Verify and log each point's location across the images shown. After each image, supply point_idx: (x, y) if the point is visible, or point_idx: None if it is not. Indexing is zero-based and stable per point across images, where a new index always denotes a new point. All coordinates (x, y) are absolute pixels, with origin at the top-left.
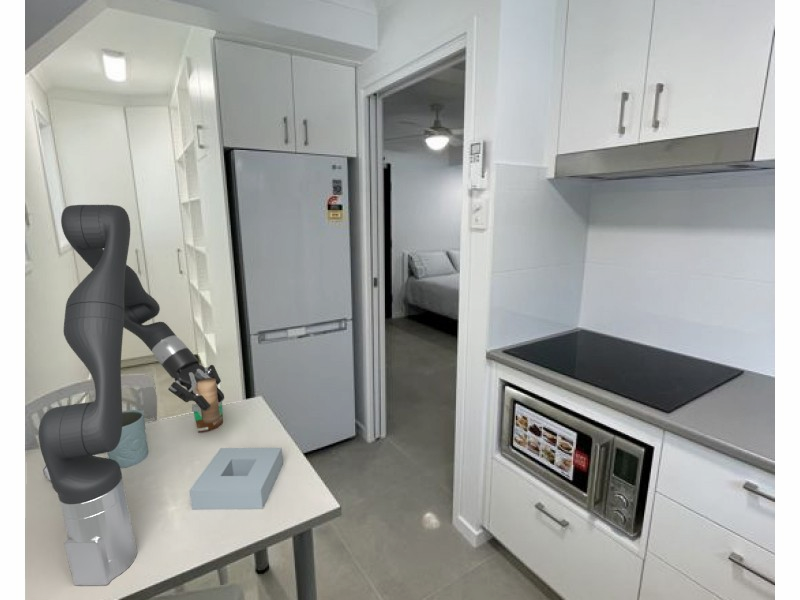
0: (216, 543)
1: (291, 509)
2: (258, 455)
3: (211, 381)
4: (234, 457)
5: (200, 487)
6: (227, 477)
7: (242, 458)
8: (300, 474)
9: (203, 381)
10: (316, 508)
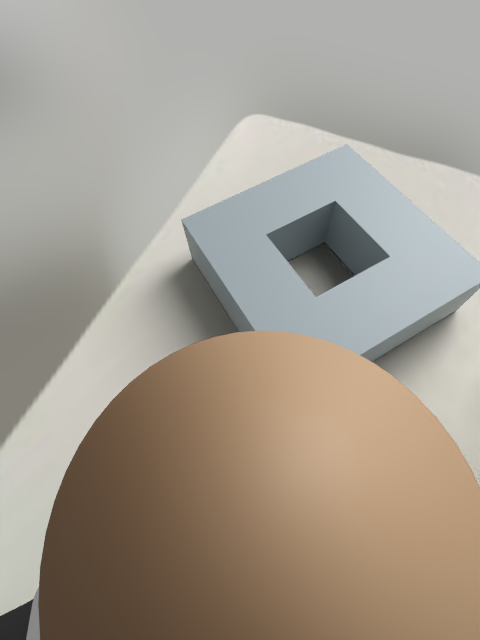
0: (453, 191)
1: (299, 152)
2: (249, 243)
3: (211, 410)
4: (303, 296)
5: (460, 259)
6: (377, 235)
7: (290, 270)
8: (204, 202)
9: (322, 616)
10: (269, 125)
